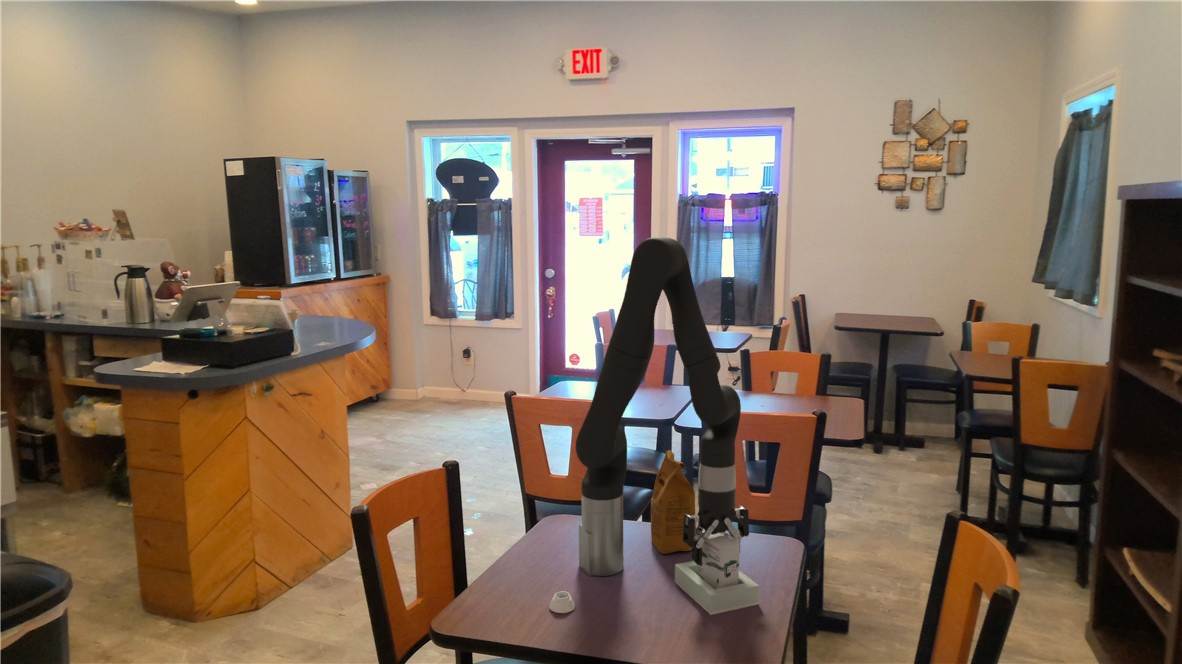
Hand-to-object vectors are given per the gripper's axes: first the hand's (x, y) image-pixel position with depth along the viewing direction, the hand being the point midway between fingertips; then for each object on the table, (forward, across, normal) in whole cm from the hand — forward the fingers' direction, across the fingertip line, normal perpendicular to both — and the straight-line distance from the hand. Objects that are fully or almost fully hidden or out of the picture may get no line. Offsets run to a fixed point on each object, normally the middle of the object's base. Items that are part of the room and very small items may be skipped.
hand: (715, 559), depth 156 cm
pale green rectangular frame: (+7, 0, 0) cm, 7 cm away
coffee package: (+7, -3, -25) cm, 26 cm away
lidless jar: (+8, +31, -6) cm, 33 cm away
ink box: (+7, 0, 0) cm, 7 cm away
